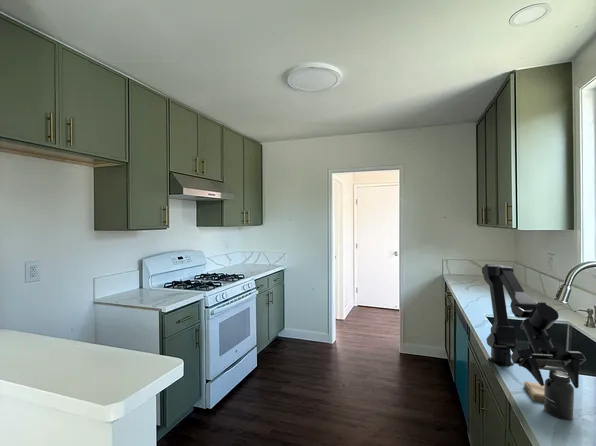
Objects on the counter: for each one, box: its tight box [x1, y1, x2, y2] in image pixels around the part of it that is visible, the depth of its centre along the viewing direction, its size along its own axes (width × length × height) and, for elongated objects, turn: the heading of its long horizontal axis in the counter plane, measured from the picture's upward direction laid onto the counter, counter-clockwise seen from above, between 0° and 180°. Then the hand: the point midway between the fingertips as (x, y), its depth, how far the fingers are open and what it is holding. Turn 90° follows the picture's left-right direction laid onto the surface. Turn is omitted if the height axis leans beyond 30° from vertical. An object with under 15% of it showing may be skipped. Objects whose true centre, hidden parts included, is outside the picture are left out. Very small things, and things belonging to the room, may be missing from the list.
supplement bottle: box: [543, 369, 575, 421], centre depth 95 cm, size 7×7×12 cm
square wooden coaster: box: [523, 381, 545, 403], centre depth 105 cm, size 9×9×2 cm
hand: (559, 386), depth 95 cm, fingers open, 9 cm apart
